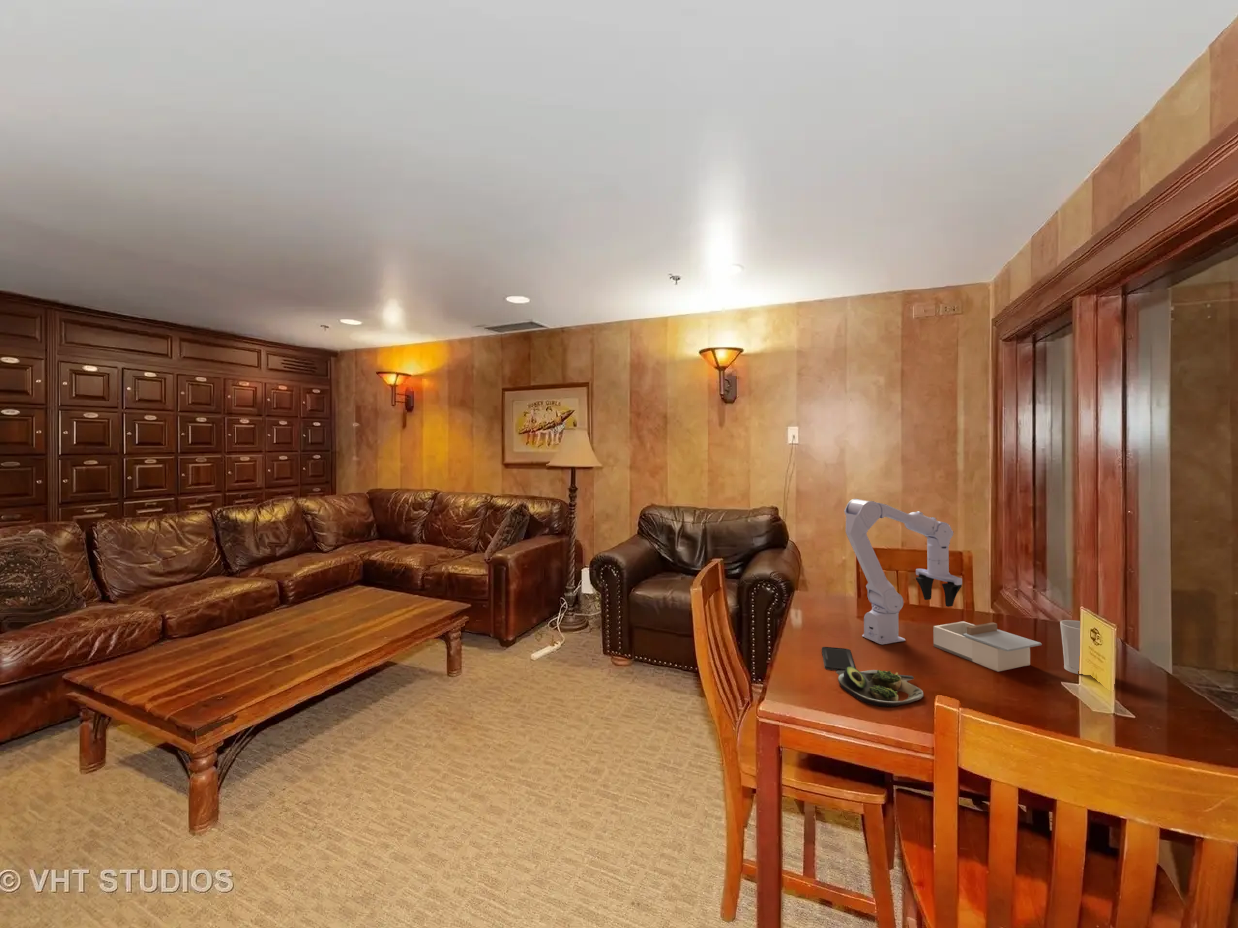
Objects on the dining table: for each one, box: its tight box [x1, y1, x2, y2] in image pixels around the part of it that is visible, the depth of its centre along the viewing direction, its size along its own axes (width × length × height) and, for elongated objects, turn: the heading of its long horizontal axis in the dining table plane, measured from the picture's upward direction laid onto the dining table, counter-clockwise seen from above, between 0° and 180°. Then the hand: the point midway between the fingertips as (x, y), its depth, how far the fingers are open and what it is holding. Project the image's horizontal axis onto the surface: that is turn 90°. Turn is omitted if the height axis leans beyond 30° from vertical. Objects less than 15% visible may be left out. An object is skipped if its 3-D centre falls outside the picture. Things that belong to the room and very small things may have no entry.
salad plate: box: [834, 667, 925, 708], centre depth 128 cm, size 19×18×5 cm
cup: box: [1059, 619, 1081, 675], centre depth 135 cm, size 8×8×12 cm
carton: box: [932, 620, 1031, 672], centre depth 147 cm, size 12×19×6 cm, turn 18°
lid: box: [962, 622, 1042, 652], centre depth 141 cm, size 12×12×2 cm
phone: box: [821, 646, 857, 672], centre depth 146 cm, size 8×1×15 cm
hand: (938, 602), depth 162 cm, fingers open, 7 cm apart
